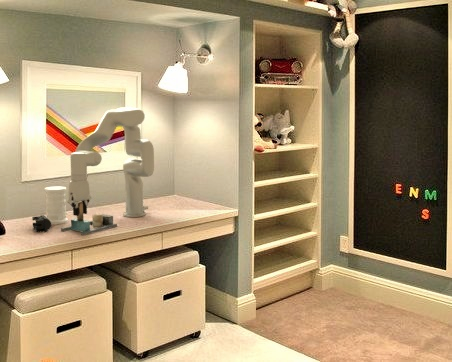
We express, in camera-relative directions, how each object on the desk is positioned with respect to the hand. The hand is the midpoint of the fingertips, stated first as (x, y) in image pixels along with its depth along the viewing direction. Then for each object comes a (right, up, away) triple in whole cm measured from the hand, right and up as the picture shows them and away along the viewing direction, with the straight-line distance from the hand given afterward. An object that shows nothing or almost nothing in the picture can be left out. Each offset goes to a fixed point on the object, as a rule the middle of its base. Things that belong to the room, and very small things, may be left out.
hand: (80, 214), depth 276 cm
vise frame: (+3, -7, +6) cm, 10 cm away
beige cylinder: (+6, -7, +11) cm, 14 cm away
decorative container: (-18, -5, +20) cm, 27 cm away
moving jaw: (0, -8, +1) cm, 8 cm away
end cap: (-20, -8, +2) cm, 21 cm away
